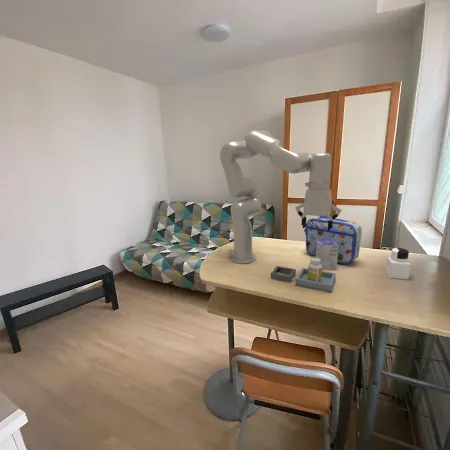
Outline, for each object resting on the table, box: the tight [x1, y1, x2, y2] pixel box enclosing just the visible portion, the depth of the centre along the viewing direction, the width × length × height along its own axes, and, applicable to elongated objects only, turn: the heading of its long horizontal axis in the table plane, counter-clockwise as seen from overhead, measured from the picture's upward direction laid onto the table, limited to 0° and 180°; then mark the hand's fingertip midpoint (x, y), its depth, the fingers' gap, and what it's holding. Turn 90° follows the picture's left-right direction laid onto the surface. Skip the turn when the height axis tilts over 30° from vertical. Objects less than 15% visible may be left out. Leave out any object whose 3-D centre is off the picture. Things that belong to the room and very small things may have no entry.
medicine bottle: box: [385, 247, 412, 280], centre depth 112 cm, size 7×7×12 cm
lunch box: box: [303, 216, 363, 265], centre depth 132 cm, size 28×10×22 cm, turn 42°
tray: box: [295, 267, 337, 293], centre depth 110 cm, size 14×12×3 cm
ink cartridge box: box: [314, 237, 338, 270], centre depth 123 cm, size 10×6×14 cm, turn 78°
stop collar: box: [269, 265, 297, 283], centre depth 117 cm, size 9×9×2 cm
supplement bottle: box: [307, 257, 323, 282], centre depth 109 cm, size 5×5×10 cm
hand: (316, 228), depth 106 cm, fingers open, 9 cm apart
